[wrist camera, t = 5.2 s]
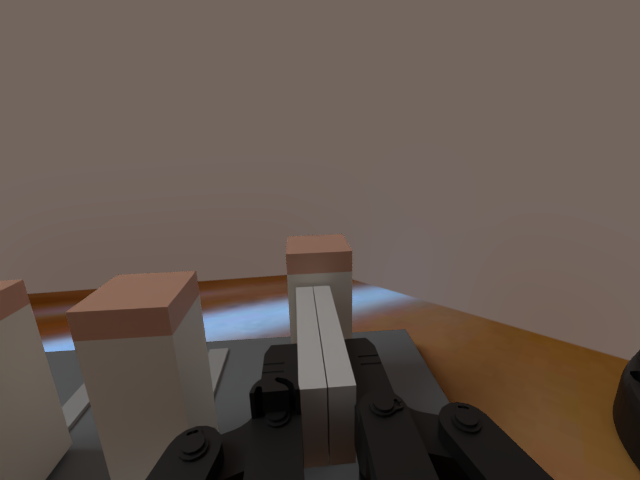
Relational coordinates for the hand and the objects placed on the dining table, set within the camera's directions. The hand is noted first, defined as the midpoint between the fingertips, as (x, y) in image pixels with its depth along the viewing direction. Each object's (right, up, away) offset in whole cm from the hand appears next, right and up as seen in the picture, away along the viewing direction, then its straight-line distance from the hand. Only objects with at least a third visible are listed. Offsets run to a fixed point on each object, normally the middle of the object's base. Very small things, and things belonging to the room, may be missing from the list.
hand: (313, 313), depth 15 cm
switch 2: (0, -4, +3) cm, 5 cm away
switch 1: (-6, -6, -2) cm, 8 cm away
